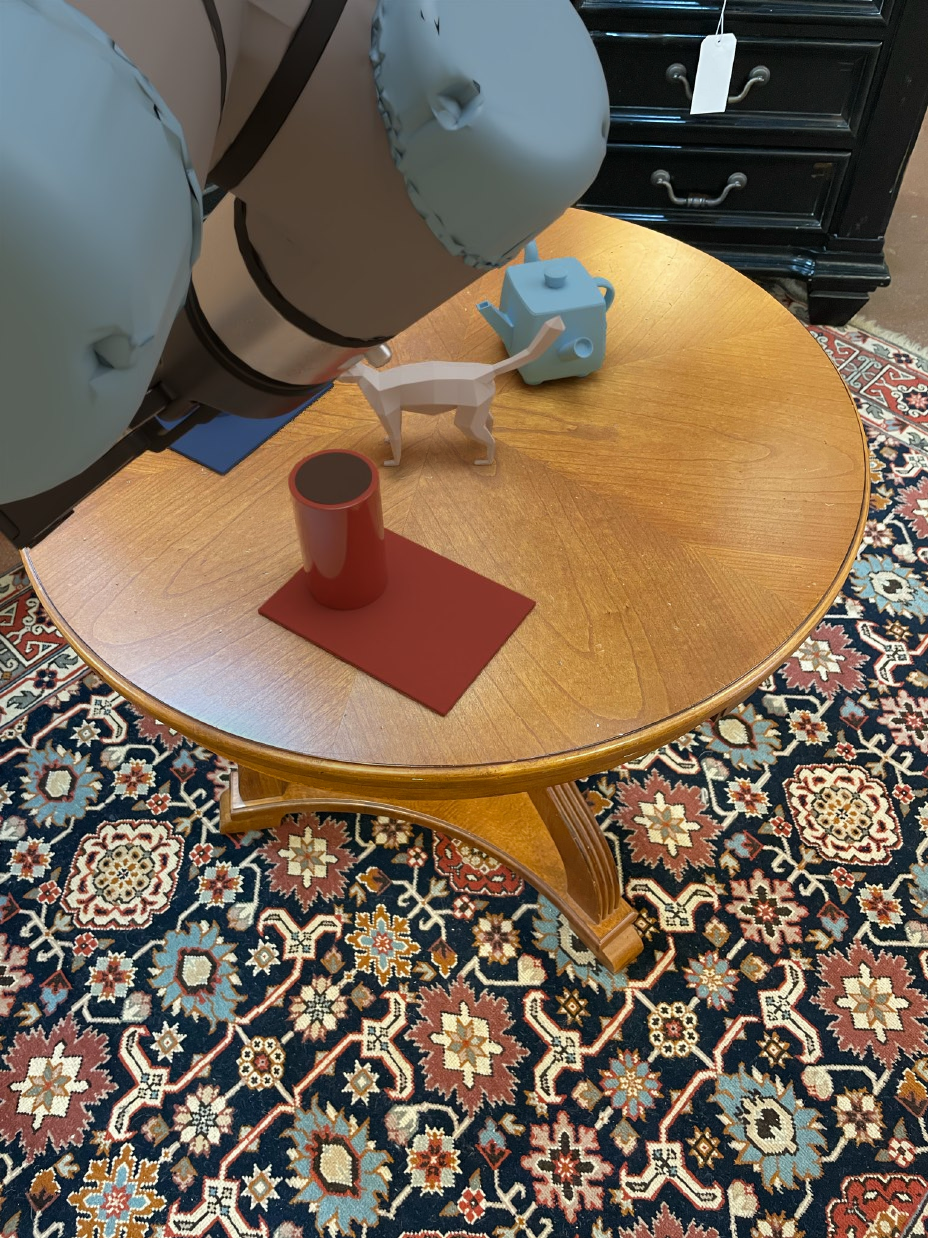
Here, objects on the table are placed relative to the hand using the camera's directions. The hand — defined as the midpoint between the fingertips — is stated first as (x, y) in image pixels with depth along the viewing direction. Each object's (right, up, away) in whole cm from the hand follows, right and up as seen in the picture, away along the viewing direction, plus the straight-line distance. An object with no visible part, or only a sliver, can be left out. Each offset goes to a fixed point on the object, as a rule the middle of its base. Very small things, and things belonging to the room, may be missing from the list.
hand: (113, 455), depth 54 cm
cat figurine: (+18, +6, +34) cm, 40 cm away
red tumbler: (+10, -6, +24) cm, 26 cm away
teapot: (+28, +17, +44) cm, 54 cm away
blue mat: (-4, +12, +39) cm, 41 cm away
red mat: (+15, -8, +22) cm, 28 cm away
